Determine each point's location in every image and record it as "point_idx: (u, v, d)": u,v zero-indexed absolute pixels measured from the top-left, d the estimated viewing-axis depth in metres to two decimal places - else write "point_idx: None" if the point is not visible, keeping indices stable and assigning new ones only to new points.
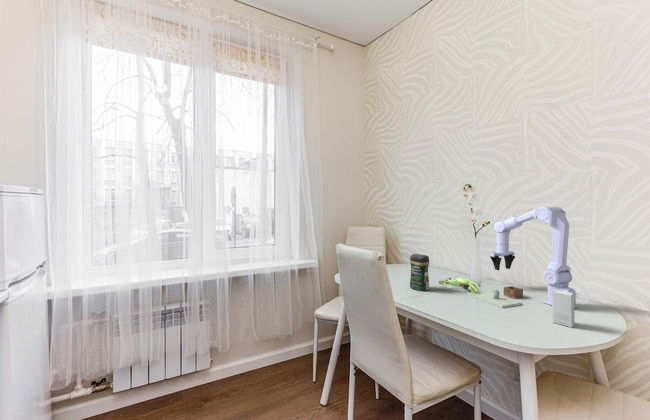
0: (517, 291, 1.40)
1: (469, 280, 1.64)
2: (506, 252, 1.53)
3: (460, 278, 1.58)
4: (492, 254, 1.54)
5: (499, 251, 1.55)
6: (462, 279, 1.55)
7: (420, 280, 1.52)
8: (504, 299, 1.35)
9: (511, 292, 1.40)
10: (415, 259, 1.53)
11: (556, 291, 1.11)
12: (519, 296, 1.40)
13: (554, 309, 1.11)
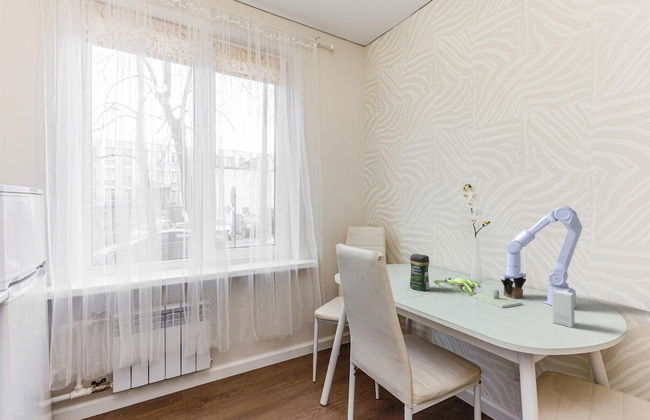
0: (517, 291, 1.40)
1: (469, 281, 1.62)
2: (517, 275, 1.39)
3: (458, 278, 1.58)
4: (502, 277, 1.40)
5: (510, 273, 1.41)
6: (459, 279, 1.55)
7: (420, 280, 1.52)
8: (504, 299, 1.35)
9: (511, 292, 1.40)
10: (415, 259, 1.53)
11: (556, 291, 1.11)
12: (519, 296, 1.40)
13: (554, 309, 1.11)
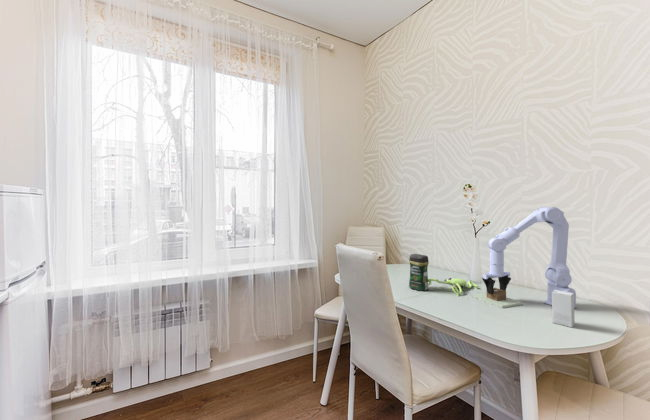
0: (500, 293, 1.34)
1: (469, 282, 1.59)
2: (500, 274, 1.33)
3: None
4: (484, 276, 1.34)
5: (492, 272, 1.35)
6: (454, 279, 1.54)
7: (420, 280, 1.52)
8: None
9: (494, 294, 1.34)
10: (414, 259, 1.54)
11: (556, 291, 1.11)
12: (502, 298, 1.34)
13: (554, 309, 1.11)
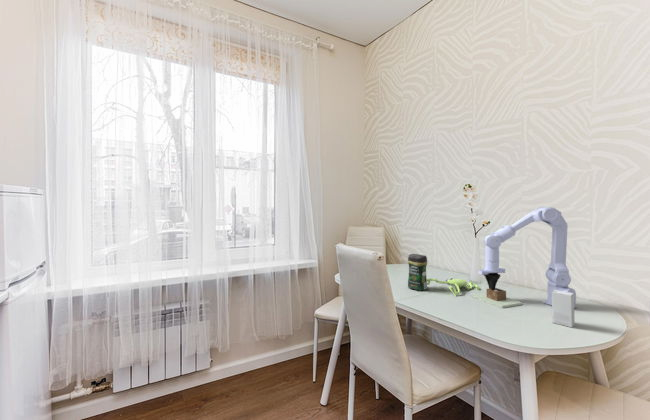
0: (500, 293, 1.34)
1: (470, 283, 1.58)
2: (496, 270, 1.36)
3: (454, 279, 1.56)
4: (480, 272, 1.36)
5: (488, 268, 1.37)
6: (453, 280, 1.54)
7: (418, 280, 1.52)
8: None
9: (494, 294, 1.34)
10: (412, 259, 1.54)
11: (556, 291, 1.11)
12: (502, 298, 1.34)
13: (554, 309, 1.11)
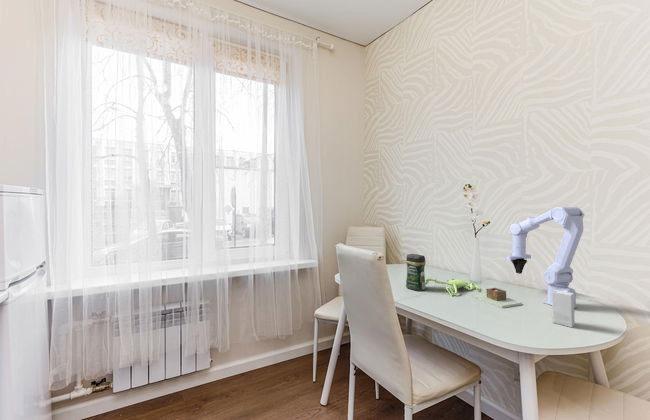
0: (500, 293, 1.34)
1: (471, 284, 1.56)
2: (523, 255, 1.47)
3: None
4: (508, 257, 1.47)
5: (515, 254, 1.49)
6: (452, 280, 1.53)
7: (417, 280, 1.52)
8: None
9: (494, 294, 1.34)
10: (411, 259, 1.54)
11: (556, 291, 1.11)
12: (502, 298, 1.34)
13: (554, 309, 1.11)
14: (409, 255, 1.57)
